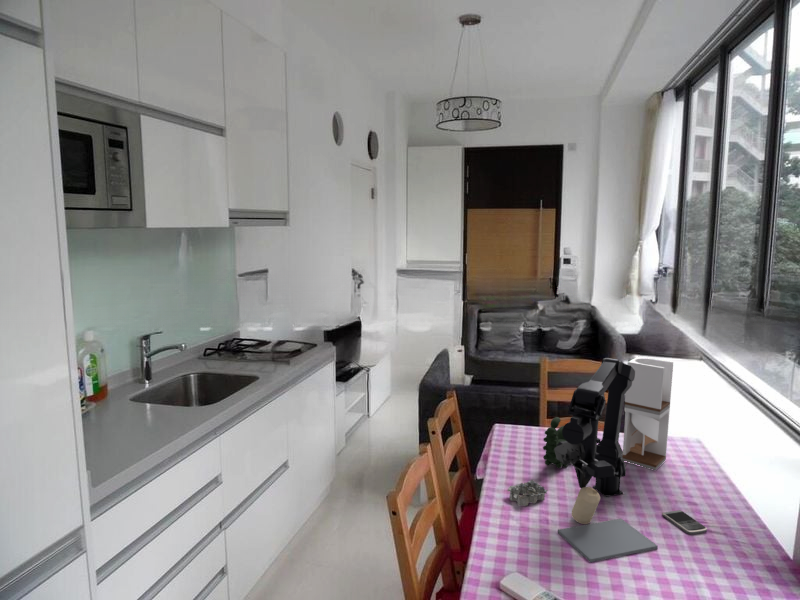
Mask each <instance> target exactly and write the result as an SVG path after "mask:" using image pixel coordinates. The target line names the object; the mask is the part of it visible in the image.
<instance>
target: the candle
mask: <svg viewBox="0 0 800 600" xmlns="http://www.w3.org/2000/svg"><path fill="white" fill-rule="evenodd" d="M600 501H601V496H600V492H598V491H597V490H596V489H594V488H593V487H591V486H586V487H583V488H580V489H579V492H578V494H577V497H576V499H575V502H574V504H573V507H572V510H571V517H572V519H574V521H576V522H577V523H578V524H581V525H587V524H591V522H592V520H593V518H594V515H595V512H596V510H597V508H598V505H599V503H600Z"/></svg>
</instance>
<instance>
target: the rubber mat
mask: <svg viewBox="0 0 800 600" xmlns="http://www.w3.org/2000/svg"><path fill="white" fill-rule="evenodd" d="M557 533H558V534H559V535H560V537H562V538H563V539H564V540H565V541H566V542H567V543H568V544H570V546H572V547H573V548H574V550H576V551H577V552H578V553H579V554H580V555H581V556H583V558H585V559H586V560H587V561H588V562H589V563H595V562H599V561H604V560H609V559H613V558H618V557H624V556H628V555H633V554H637V553H643V552H648V551H653V550H658V547H659V546H658V544H656V543H654V541H653V540H651V539H649V538H648V537H646V536H645V535H644V534H643V533H641V532H640V531H638V529H636V528H635V527H633V526H632V525H631V524H629V522H627V521H625V520H624V519H623V518H622V517H620V518H616V519H609V520H605V521H599V522H593V523H588V524H581V525H577V526H572V527H565V528H561V529H557Z"/></svg>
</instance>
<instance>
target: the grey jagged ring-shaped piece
mask: <svg viewBox="0 0 800 600" xmlns="http://www.w3.org/2000/svg"><path fill="white" fill-rule="evenodd" d="M506 491H507V492H509V500H510V501H513V502H514V501H515V502H517V505H518V506H521V507H522V506H524V507H528V506H529V503H531V504H536V503H537V501H545V499H546V498H545V497H546V495H547V494H548V492H549V490H548V489H545V487H544V486H542V485H541V484H539V482H536V481H535V480H534V479H531V480H528V481H526V482H524V483H523V482H520V483H519V484H516V485H510V486H508V488H507V490H506ZM520 494H521V495H520Z"/></svg>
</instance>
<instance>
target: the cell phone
mask: <svg viewBox="0 0 800 600" xmlns="http://www.w3.org/2000/svg"><path fill="white" fill-rule="evenodd" d="M661 514H662V517H664V518H665V519H667V521H670V523H671V524H673V525H675V526H676V527H677V528H679V529H680V530H682V531H683V532H684V533H686V534H688V535H696V534H703V533H706V532H707V531H708V528H707V527H706V526H705V525H703V524H701V522H699V521H697V520H696V519H695V518H693V517H692V516H690V515H689V514H687V513H686V512H685V511H683V510H682V509H678V510H671V511H666V512H665V511H664V512H661Z"/></svg>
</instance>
